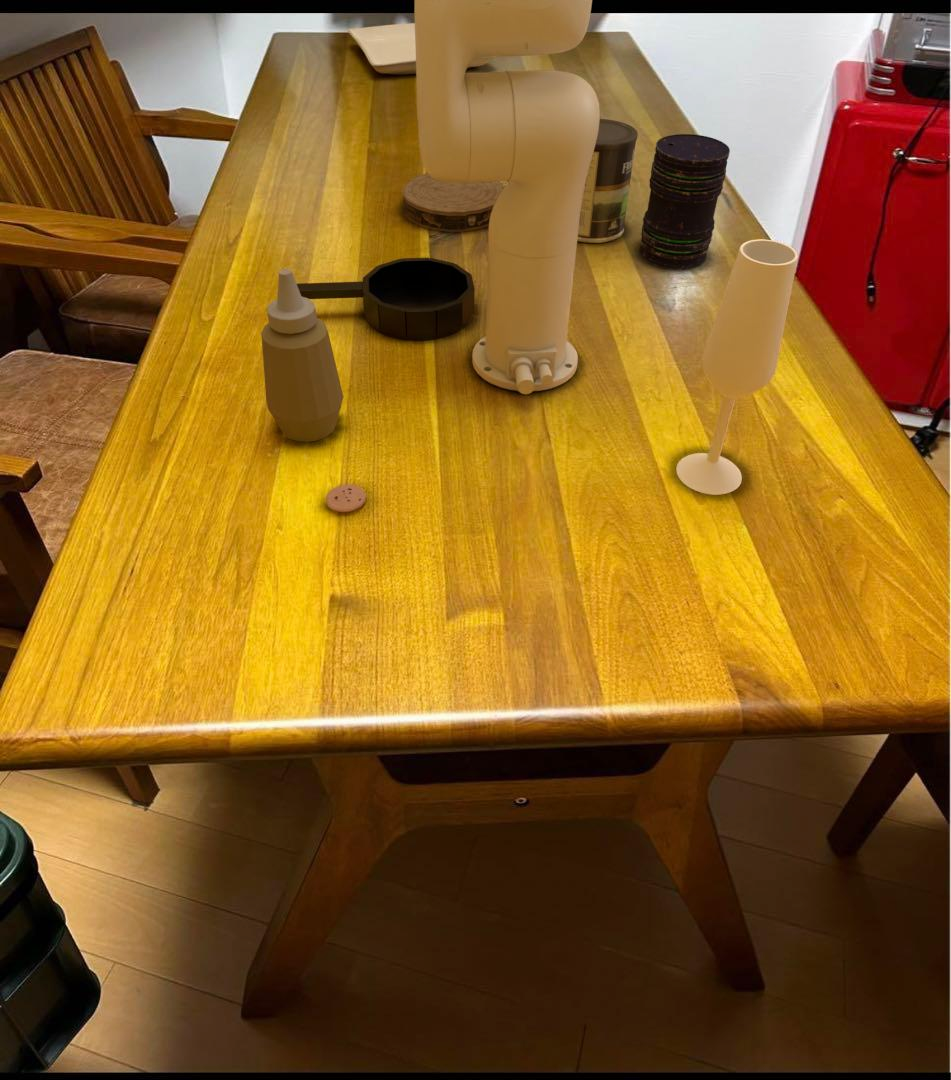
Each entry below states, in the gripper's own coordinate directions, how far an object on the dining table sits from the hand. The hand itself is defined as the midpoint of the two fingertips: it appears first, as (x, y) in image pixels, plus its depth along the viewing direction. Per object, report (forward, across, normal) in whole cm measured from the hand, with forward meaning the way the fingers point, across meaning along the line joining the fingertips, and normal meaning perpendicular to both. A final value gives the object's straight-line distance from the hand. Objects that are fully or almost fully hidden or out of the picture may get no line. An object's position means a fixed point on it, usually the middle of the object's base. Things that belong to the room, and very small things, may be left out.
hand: (465, 19), depth 120 cm
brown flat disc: (+25, +5, -6) cm, 26 cm away
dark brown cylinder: (+24, +36, +11) cm, 44 cm away
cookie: (+24, +54, -55) cm, 80 cm away
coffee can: (+24, +22, +7) cm, 34 cm away
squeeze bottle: (+24, +41, -52) cm, 70 cm away
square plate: (+25, -64, +35) cm, 77 cm away
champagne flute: (+24, +72, -22) cm, 79 cm away
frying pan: (+24, +25, -32) cm, 47 cm away
